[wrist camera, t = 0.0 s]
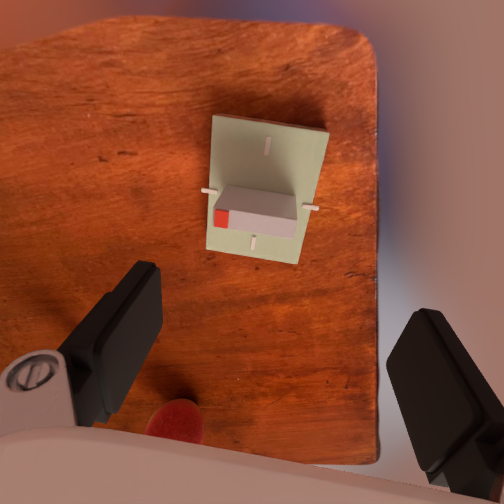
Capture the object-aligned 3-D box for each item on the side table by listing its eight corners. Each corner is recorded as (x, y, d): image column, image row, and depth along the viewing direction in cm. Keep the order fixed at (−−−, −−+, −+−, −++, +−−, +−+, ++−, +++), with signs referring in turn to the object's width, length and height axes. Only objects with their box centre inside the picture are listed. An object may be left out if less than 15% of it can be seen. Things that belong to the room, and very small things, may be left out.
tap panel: (210, 111, 24) (204, 114, 22) (334, 130, 23) (338, 134, 22) (204, 238, 30) (199, 249, 28) (302, 255, 30) (303, 266, 28)
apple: (218, 415, 46) (202, 491, 38) (174, 419, 48) (149, 492, 40) (197, 383, 43) (174, 459, 34) (151, 389, 45) (118, 462, 36)
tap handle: (296, 195, 24) (297, 221, 20) (292, 213, 25) (293, 241, 21) (226, 184, 25) (212, 207, 20) (224, 202, 25) (211, 228, 21)
